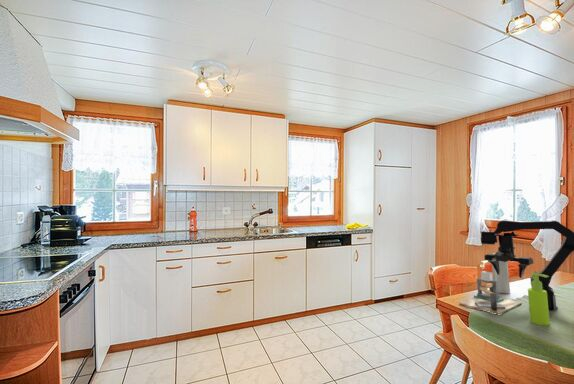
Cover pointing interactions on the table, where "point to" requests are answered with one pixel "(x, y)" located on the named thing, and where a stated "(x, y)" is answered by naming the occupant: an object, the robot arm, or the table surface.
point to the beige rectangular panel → (489, 304)
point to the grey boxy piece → (487, 278)
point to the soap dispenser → (538, 301)
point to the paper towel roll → (502, 277)
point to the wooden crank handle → (490, 294)
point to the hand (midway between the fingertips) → (509, 276)
